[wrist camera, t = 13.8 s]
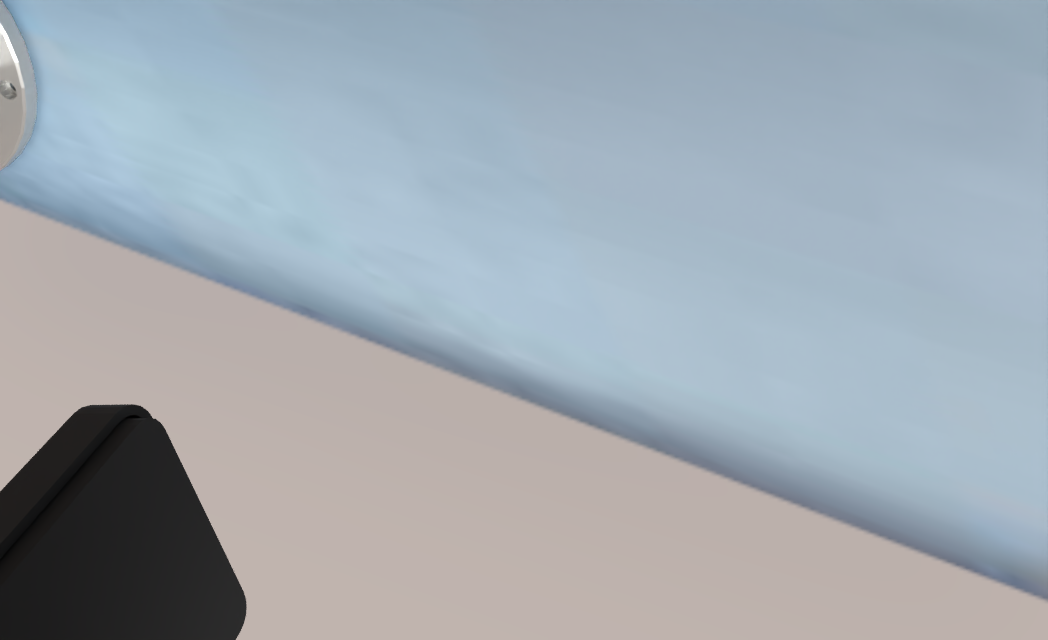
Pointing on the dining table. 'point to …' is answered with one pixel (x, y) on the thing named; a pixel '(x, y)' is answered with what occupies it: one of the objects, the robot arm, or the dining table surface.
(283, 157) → the dining table surface
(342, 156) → the dining table surface
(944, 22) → the dining table surface
